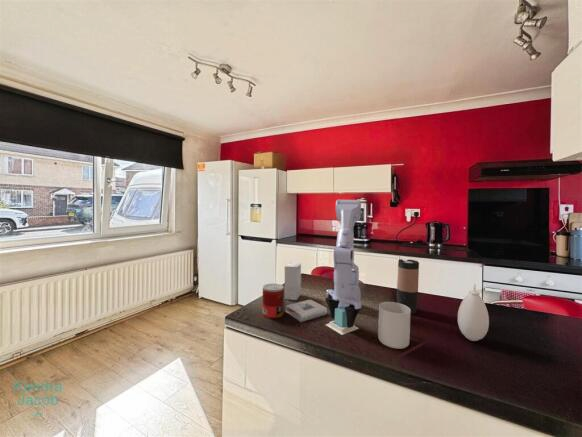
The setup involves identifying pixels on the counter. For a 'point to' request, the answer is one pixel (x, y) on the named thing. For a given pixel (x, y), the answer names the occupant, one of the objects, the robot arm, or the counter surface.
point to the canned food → (273, 300)
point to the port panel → (302, 314)
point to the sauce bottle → (473, 316)
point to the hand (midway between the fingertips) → (341, 322)
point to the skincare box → (292, 281)
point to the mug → (394, 325)
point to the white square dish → (339, 329)
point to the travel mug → (408, 283)
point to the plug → (340, 317)
